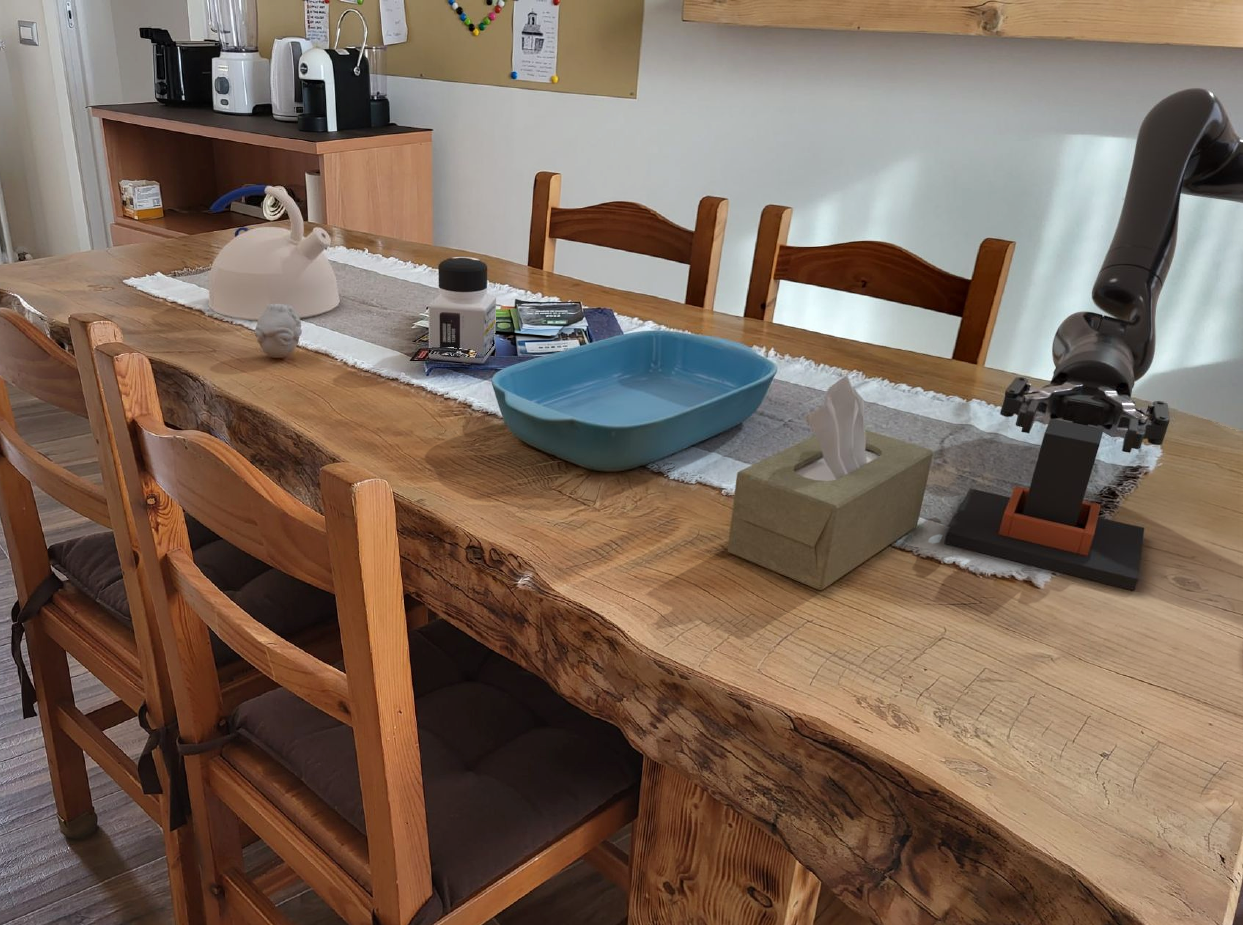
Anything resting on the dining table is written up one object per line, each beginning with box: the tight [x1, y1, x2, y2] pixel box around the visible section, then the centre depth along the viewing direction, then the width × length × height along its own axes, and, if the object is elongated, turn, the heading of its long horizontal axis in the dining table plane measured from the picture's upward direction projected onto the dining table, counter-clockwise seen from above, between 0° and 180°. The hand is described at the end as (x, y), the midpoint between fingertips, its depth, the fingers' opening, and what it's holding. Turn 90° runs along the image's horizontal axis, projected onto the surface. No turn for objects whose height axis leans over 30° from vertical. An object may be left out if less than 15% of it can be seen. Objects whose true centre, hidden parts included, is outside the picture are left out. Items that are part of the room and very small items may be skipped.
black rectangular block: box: [1022, 419, 1104, 527], centre depth 96 cm, size 4×4×10 cm
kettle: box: [208, 184, 341, 322], centre depth 160 cm, size 20×21×18 cm
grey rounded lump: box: [254, 304, 303, 359], centre depth 139 cm, size 6×7×7 cm
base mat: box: [944, 485, 1145, 592], centre depth 98 cm, size 16×12×3 cm
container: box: [427, 256, 497, 365], centre depth 141 cm, size 8×8×13 cm
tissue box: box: [726, 374, 934, 591], centre depth 94 cm, size 19×10×16 cm, turn 136°
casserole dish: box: [490, 329, 778, 473], centre depth 120 cm, size 37×22×7 cm, turn 135°
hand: (1077, 432), depth 95 cm, fingers open, 8 cm apart
